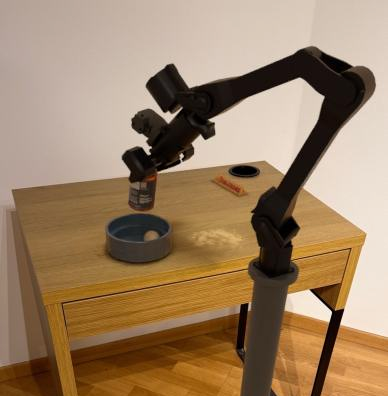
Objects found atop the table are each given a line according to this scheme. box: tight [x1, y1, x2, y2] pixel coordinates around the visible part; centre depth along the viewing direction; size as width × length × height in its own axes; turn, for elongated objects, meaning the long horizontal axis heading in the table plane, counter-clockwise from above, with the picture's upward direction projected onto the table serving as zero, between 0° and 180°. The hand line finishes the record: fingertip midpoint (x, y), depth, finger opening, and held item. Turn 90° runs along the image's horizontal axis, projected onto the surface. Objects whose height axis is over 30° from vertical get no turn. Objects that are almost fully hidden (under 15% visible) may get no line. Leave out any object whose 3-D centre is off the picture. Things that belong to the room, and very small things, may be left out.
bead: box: [144, 231, 160, 241], centre depth 107 cm, size 4×4×4 cm
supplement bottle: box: [127, 153, 158, 212], centre depth 108 cm, size 6×6×11 cm
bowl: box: [104, 212, 173, 263], centre depth 107 cm, size 14×14×5 cm
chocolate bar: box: [213, 172, 247, 197], centre depth 137 cm, size 3×12×2 cm, turn 33°
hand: (139, 177), depth 108 cm, fingers closed on supplement bottle, 6 cm apart
